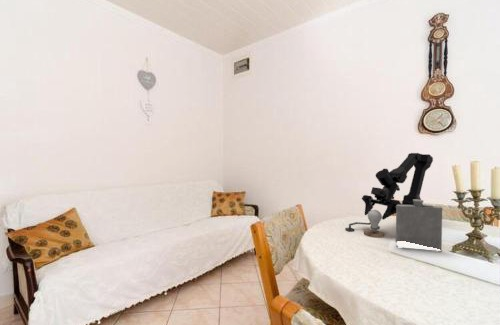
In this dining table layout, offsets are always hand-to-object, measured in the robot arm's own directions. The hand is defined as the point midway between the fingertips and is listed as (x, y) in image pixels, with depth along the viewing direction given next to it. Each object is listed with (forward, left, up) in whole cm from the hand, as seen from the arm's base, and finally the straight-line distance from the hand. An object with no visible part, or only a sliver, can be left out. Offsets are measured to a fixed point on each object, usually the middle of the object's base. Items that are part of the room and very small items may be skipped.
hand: (373, 216), depth 119 cm
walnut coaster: (0, 0, -9) cm, 9 cm away
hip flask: (-19, +7, -9) cm, 22 cm away
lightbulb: (0, -1, -8) cm, 8 cm away
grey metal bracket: (+6, -5, -9) cm, 12 cm away
